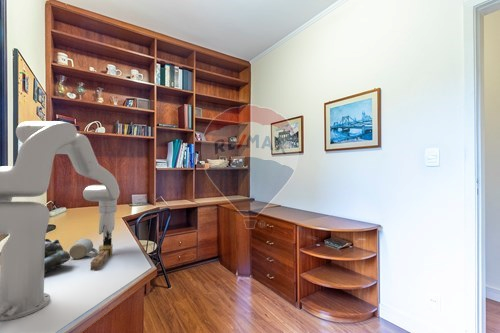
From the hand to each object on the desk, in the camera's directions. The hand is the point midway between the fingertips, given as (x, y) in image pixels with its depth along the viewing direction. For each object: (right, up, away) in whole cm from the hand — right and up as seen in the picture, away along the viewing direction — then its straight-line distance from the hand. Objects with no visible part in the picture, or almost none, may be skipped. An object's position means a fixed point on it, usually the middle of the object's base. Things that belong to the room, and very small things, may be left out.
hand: (107, 246), depth 114 cm
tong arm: (+5, -3, -11) cm, 12 cm away
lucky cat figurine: (-13, -3, -20) cm, 24 cm away
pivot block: (0, -4, -1) cm, 4 cm away
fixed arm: (+2, -3, -10) cm, 10 cm away
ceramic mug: (-9, -4, -3) cm, 10 cm away
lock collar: (+1, -3, -3) cm, 5 cm away
